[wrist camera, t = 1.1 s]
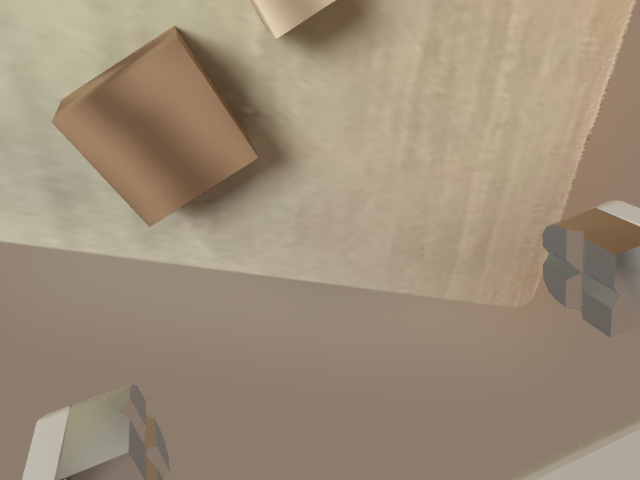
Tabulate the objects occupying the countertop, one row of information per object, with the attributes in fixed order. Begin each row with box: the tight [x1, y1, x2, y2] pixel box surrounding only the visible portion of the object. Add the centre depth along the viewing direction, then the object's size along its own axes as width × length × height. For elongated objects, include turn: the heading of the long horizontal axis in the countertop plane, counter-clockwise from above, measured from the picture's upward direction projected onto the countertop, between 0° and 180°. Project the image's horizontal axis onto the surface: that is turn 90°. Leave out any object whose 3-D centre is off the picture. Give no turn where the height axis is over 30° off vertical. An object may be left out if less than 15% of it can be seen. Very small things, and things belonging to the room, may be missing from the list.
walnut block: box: [52, 26, 258, 227], centre depth 35 cm, size 9×9×5 cm
